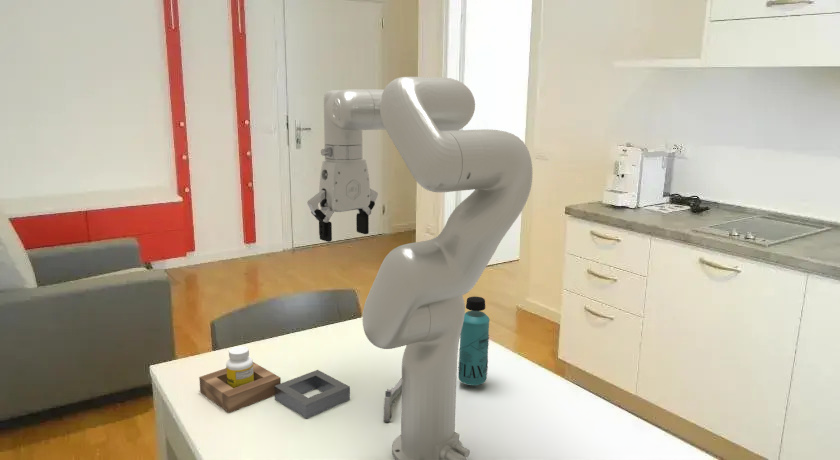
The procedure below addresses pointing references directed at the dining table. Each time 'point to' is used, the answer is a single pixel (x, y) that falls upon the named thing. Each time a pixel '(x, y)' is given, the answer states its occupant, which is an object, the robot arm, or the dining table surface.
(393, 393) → the caliper
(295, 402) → the socket block
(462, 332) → the beverage bottle
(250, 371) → the supplement bottle
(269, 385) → the block
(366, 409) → the dining table surface
